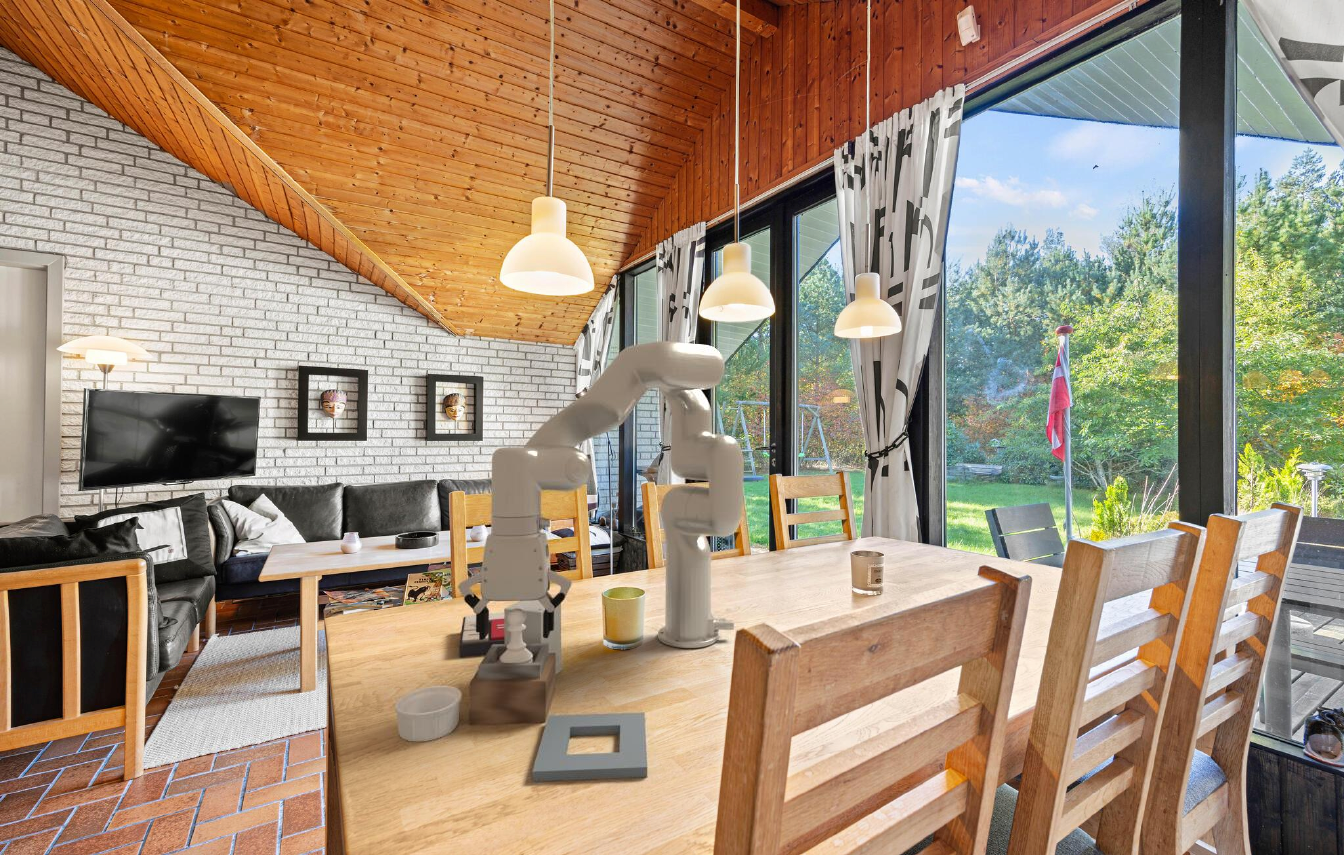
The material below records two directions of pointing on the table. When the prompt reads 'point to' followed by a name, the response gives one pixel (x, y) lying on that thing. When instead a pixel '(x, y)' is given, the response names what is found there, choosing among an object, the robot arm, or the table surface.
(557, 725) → the board
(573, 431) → the robot arm
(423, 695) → the ramekin
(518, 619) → the chess pawn
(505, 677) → the riser socket
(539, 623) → the supplement box
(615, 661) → the table surface
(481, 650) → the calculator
